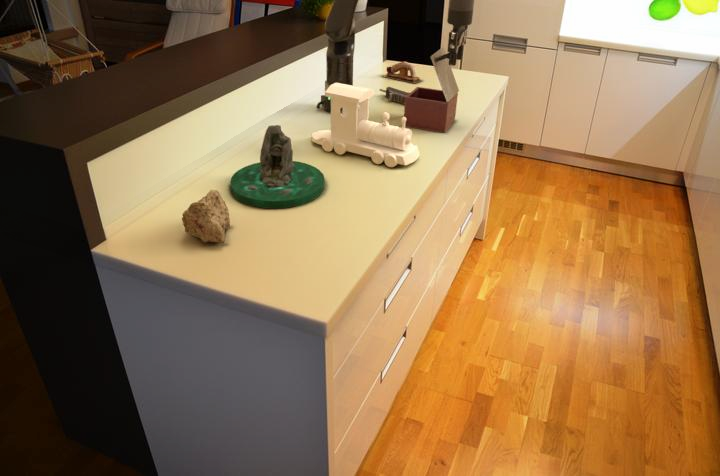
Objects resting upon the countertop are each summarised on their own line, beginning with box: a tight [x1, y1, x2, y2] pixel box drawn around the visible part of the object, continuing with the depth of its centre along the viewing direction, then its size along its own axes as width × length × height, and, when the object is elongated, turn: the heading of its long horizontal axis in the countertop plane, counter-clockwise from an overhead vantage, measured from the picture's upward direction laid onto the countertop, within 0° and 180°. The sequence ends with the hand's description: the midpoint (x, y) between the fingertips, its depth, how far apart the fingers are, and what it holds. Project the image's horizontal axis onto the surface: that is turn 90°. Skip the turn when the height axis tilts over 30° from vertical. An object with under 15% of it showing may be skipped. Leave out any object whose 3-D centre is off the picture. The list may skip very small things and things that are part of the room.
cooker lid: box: [430, 46, 460, 102], centre depth 193 cm, size 15×13×6 cm
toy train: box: [310, 83, 420, 168], centre depth 177 cm, size 12×35×19 cm, turn 60°
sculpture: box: [382, 61, 423, 84], centre depth 247 cm, size 7×16×7 cm, turn 58°
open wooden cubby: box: [403, 86, 459, 134], centre depth 201 cm, size 14×13×10 cm
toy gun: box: [379, 86, 411, 105], centre depth 221 cm, size 3×32×15 cm
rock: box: [181, 189, 231, 243], centre depth 137 cm, size 11×12×10 cm
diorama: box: [229, 124, 326, 209], centre depth 156 cm, size 25×25×15 cm
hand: (455, 62), depth 191 cm, fingers open, 7 cm apart
